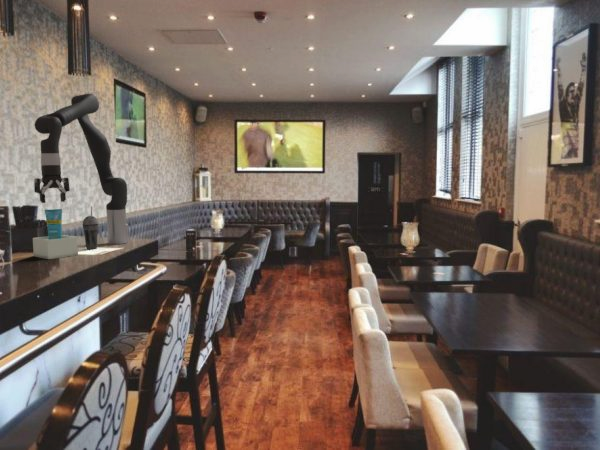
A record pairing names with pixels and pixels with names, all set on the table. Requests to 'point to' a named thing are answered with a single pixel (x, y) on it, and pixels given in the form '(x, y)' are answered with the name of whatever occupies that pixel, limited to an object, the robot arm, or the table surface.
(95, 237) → the beverage cup
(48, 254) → the bin
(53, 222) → the tube
